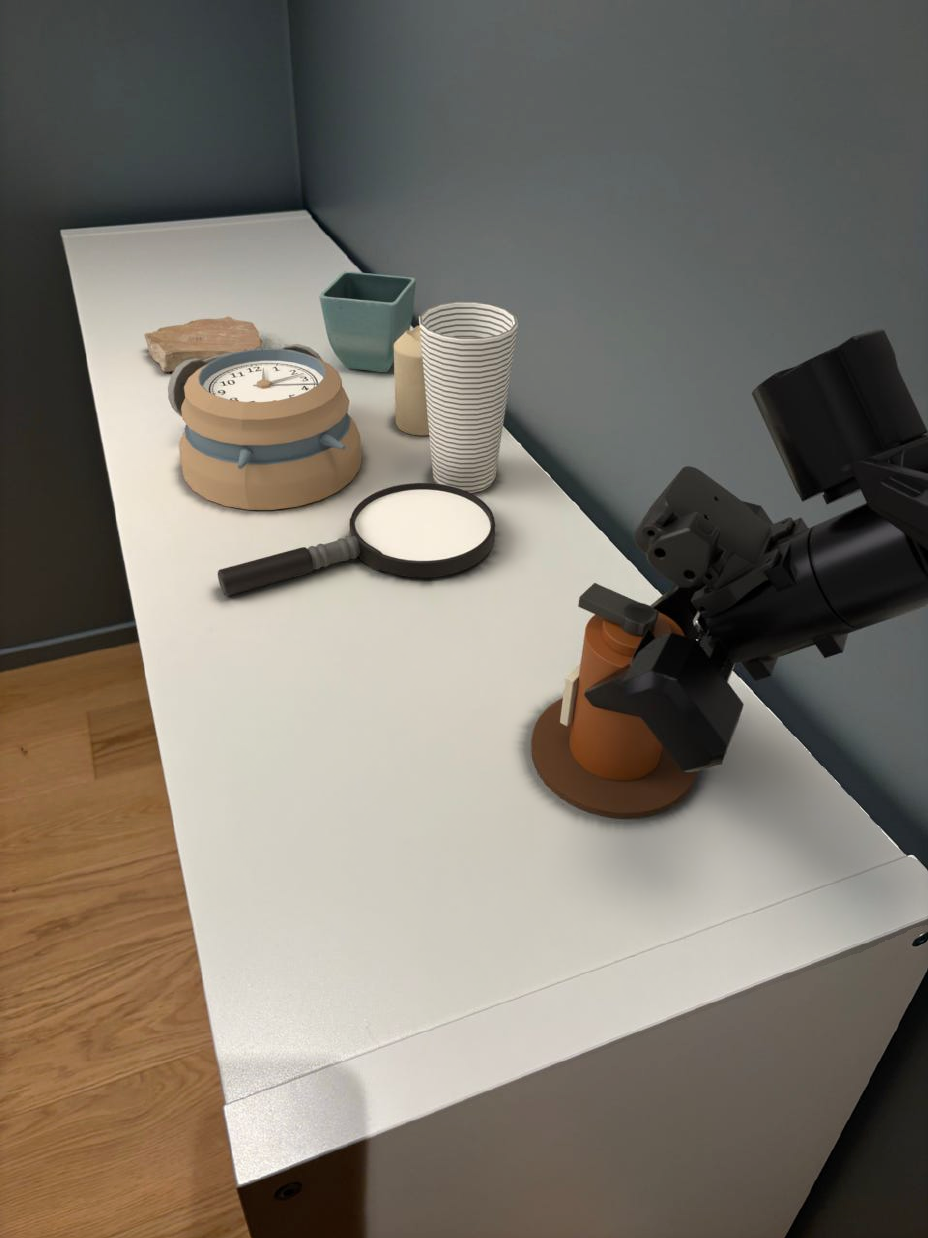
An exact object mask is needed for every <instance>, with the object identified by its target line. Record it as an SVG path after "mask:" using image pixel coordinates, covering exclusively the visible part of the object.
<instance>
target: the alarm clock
mask: <svg viewBox="0 0 928 1238" xmlns="http://www.w3.org/2000/svg"><path fill="white" fill-rule="evenodd" d="M209 362H210V363H209ZM340 375H341V374H340V373H339V371H338V370H337V369H335V367H334V366H332V365H331V364H330V363H328V362H326V361H324V360H323V359H322V357H321V356H320V354H319V353H318V352H316V350H313V349H312V348H311V347H310V346H307V345H303V344H300V343H292V344H286V345H284V346H282V347H280V348H262V349H253V350H245V351H240V352H235V353H228V354H223V355H218V356H214V357H210V358H208V359H205V360H200V359H197V358H195V359H190V360H186V361H184V362H182V363H181V364H180V365H179V366H177V367H176V369H175V370H174V371H172V374H171V375H170V377H169V378H170V379H169V381H168V385H167V398H168V401H169V404H170V407H171V408H172V410H173V411H174V412H175V413H176V414H177V415H179V416H180V417H181V419H182V421H183V422H184V424H185V426H184V429H183V432H182V434H181V437H180V440H179V441H178V451H179V458H180V459H179V460H180V464H181V469H182V474H183V479H184V480H185V482H186V483H187V485H188V486H189V488H190V489H191V490H192V491H193V492H195V493H196V494H197V495H199V496H201V497H202V498H204V499H205V500H207V501H210V502H213V503H216V504H219V505H222V506H224V507H229V508H234V509H242V510H248V511H249V510H250V511H257V510H258V511H259V510H260V511H274V510H283V509H291V508H298V507H301V506H304V505H308V504H312V503H316V502H319V501H321V500H323V499H326V498H328V497H330V496H332V495H334V494H336V493H338V492H339V491H341V490H342V489H343V488H345V487H346V486H348V484H350V483H352V482H353V480H354V479H355V477H356V475H357V473H358V472H359V471H360V469H361V463H362V462H361V461H362V443H361V441H362V439H361V435H360V432H359V429H358V427H357V425H356V423H355V421H354V419H353V418H352V417H351V416H350V415H349V407H350V399H349V397H348V394H347V392H346V390H345V388H344V386H343V380H342V377H341V376H340Z"/></svg>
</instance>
